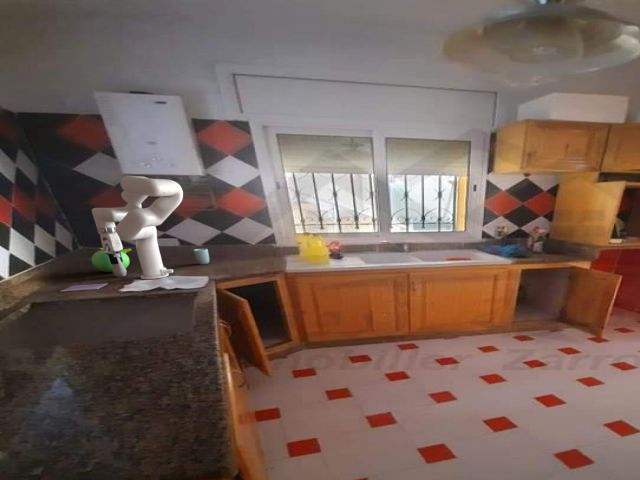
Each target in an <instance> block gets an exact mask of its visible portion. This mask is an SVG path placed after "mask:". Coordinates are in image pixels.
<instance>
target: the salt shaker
mask: <svg viewBox="0 0 640 480" xmlns="http://www.w3.org/2000/svg"><path fill="white" fill-rule="evenodd" d="M115 256H116V257H117V260H118V263H119V264H112V265H113V272H112V274H113V275H114V276H115V277H117V278H121V277H125V276H127V272H128V271H127V268H126V269H125V267H124V265H123V264H122V262H121V260H120V254H118V253H115Z"/></svg>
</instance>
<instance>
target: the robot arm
mask: <svg viewBox="0 0 640 480" xmlns="http://www.w3.org/2000/svg"><path fill="white" fill-rule="evenodd" d="M120 187H121V189H122V190H123V191H122V192H121V194H120V196H121V198H122V200H123V201H125V202H126V203H127V204H125V206H118V207H117V206H115V207H94V208H92V209H91V214H92V218H93V220H94V223H95V226H96V229H97V232H98V235H100V236H99V237H100V243H101V245H102V248H103V249H104V251H105V253H106V254H107V255H108V257H109V259H110V262H111V264H119V263H118V260H117V257H116V256H115V253H118V254H120V260H121V262H123V260H122V256H121V250H123V248H124V245H123V244H122V241H121V239H122V240H123V241H135V249H136V253H137V256H138V260H139V264H140V267H141V270H142V275H140V279H141V280H154V279H161V278H165V277H168V276H169V275H170V274H173V273H174V269H172V268H170V269H169V268H167V267H166V266H164V263H163V260H162V255H161V252H160V247H159V242H158V237H157V236H158V235H157V234H158V232H157V226H161V225H162V224H163V223H164V222H165V221H166V219H167V218H169V216H170V215H171V214H172V213H173V212H174V211H175V210H176V209H177V208H178V207H179V206H180V204H181V203H182V201H183V198H184V191H183V189H182V187H181V185H180V184H179V183H178V182H176V181H174V180H171V179H167V178H166V179H165V178H149V177H146V176H141V175H126V176H124V177H122V178H121V180H120ZM148 197H159V198H157V199H155V200H154V202H152V204H151V205H149V206H148V207H142V203H143V202H144V201H145V200H146V199H147V198H148ZM116 223H118V224H117V226H116ZM110 251H112V252H110ZM112 253H113V254H112Z"/></svg>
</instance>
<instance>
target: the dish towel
mask: <svg viewBox="0 0 640 480" xmlns="http://www.w3.org/2000/svg"><path fill="white" fill-rule="evenodd" d="M107 285H109V283H107V282H106V283H95V284H94V283H92V284H81V285H71V286H70V287H67V288H64V289H61V290H60V291H59V292H60V293H65V292H79V291H80V292H81V291H92V290H93V291H94V290H98V289H101V288H103V287H105V286H107Z"/></svg>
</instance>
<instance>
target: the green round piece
mask: <svg viewBox="0 0 640 480" xmlns="http://www.w3.org/2000/svg"><path fill="white" fill-rule="evenodd" d="M130 251H132V248H124V249H122V250H121V256H122V260H123V262H122V264H123V265H124V267H125V269H126V270H127V268H128V267H129V265H130V258H129V256H128V255H127V253H128V252H130ZM110 252H112V251H110ZM112 254H113V253H112ZM91 264H92V265H93V267H94V268H95V269H97V270H98V271H100V272H105V273H113V265H112V264H111V262H110V259H109V257H108V255H107V254H106V253H105V251H104V249H103V247H99V250H97V251H96V252H94V253H93V255H92V256H91Z"/></svg>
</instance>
